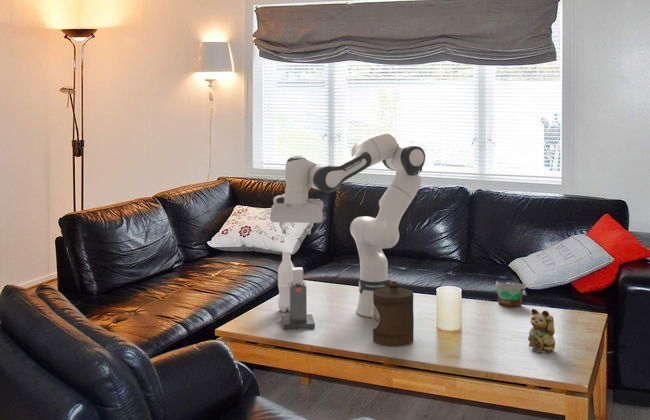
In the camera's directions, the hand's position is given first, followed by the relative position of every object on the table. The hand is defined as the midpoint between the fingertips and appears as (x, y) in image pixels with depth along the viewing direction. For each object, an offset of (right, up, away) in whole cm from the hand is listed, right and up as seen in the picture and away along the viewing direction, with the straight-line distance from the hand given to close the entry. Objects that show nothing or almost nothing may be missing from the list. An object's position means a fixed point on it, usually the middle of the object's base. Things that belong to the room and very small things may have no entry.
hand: (296, 233), depth 305 cm
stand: (+1, -35, +3) cm, 35 cm away
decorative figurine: (+88, -40, -26) cm, 100 cm away
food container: (+88, -31, +27) cm, 97 cm away
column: (+1, -33, +3) cm, 33 cm away
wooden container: (+36, -39, -15) cm, 55 cm away
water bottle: (-5, -33, +22) cm, 39 cm away
